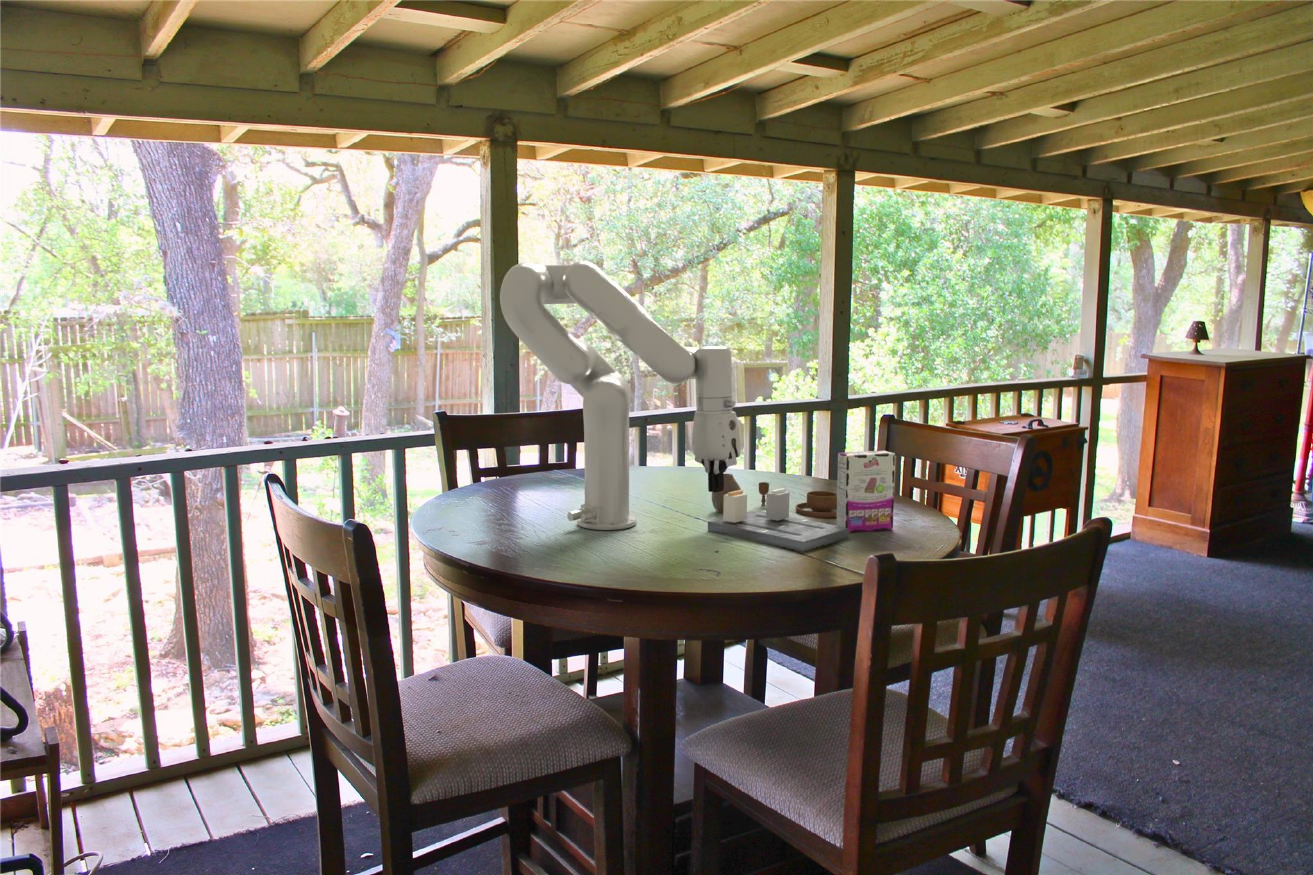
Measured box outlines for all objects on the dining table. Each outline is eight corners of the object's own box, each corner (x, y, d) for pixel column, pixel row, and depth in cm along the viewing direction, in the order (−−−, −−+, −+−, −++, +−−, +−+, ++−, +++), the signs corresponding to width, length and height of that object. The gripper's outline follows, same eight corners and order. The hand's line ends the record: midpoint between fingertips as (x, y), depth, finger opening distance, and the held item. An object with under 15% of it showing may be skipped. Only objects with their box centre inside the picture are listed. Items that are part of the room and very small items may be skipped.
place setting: (808, 523, 199) (809, 497, 198) (753, 507, 216) (753, 482, 215) (867, 515, 208) (868, 490, 207) (809, 500, 225) (810, 476, 224)
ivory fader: (734, 522, 187) (734, 493, 186) (723, 520, 189) (723, 491, 188) (746, 519, 190) (747, 491, 189) (735, 517, 192) (736, 489, 191)
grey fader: (777, 520, 189) (778, 491, 188) (765, 518, 191) (766, 490, 190) (789, 517, 192) (789, 489, 191) (777, 515, 194) (778, 487, 193)
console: (803, 551, 173) (803, 541, 173) (707, 530, 190) (707, 520, 189) (848, 537, 185) (849, 527, 184) (755, 518, 201) (755, 509, 201)
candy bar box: (881, 525, 196) (884, 449, 194) (893, 530, 191) (896, 453, 189) (834, 527, 193) (837, 451, 191) (845, 533, 188) (848, 455, 186)
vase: (739, 516, 204) (740, 477, 203) (709, 514, 205) (710, 476, 204) (743, 509, 211) (744, 472, 209) (713, 508, 212) (714, 471, 211)
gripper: (753, 405, 188) (754, 492, 191) (699, 402, 199) (701, 484, 201) (730, 408, 183) (732, 498, 185) (676, 405, 193) (678, 490, 196)
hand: (716, 491), depth 193 cm, fingers closed
